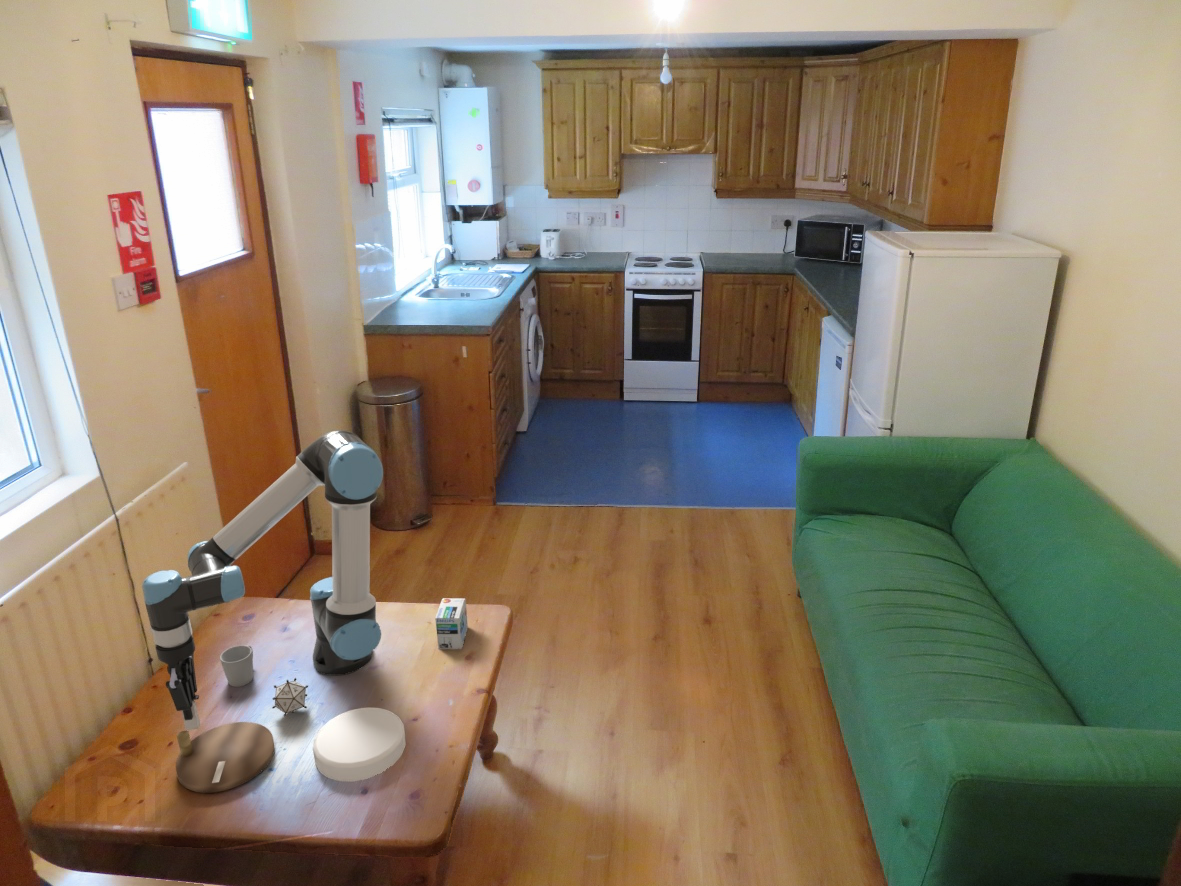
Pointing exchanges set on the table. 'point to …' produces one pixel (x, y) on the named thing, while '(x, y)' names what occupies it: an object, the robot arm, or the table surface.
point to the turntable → (223, 756)
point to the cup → (238, 665)
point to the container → (359, 744)
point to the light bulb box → (451, 623)
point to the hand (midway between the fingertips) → (193, 727)
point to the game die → (290, 697)
